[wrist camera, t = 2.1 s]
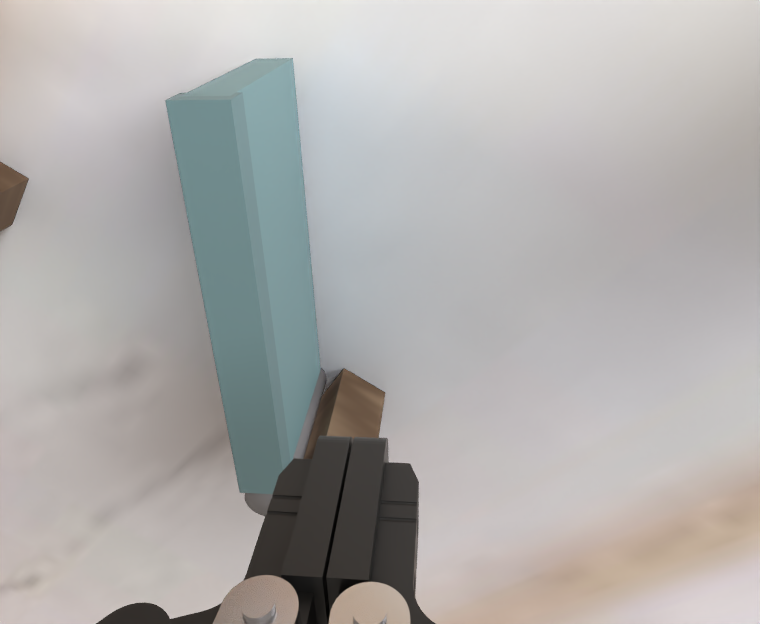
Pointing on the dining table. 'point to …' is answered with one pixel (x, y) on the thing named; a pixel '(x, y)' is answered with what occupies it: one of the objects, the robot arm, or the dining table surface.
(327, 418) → the gate posts
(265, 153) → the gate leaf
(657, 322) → the dining table surface
